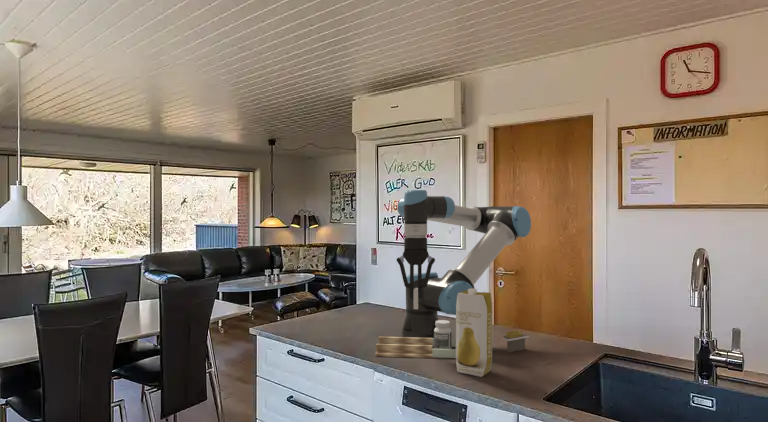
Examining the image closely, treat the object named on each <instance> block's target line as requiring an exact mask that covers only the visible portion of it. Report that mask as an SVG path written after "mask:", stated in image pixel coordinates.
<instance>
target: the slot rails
mask: <svg viewBox="0 0 768 422" xmlns="http://www.w3.org/2000/svg"><path fill="white" fill-rule="evenodd" d="M432 353H433V346H432V338H417V337H402V336H378V343H376V344H375V354H374V355H375V357H388V358H420V359H421V358H422V359H423V358H424V359H425V358H426V359H433V358H434V357H433V354H432Z"/></svg>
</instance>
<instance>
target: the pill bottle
mask: <svg viewBox="0 0 768 422" xmlns="http://www.w3.org/2000/svg"><path fill="white" fill-rule="evenodd" d="M450 324H451V322H450V321H449V320H447V319H446V320H444V319H439V320H438V321H436V322H435V325H436V328H435V329H434V346H433V349H453V348H452V339H453V337H452V329H451V328H450V326H451V325H450Z"/></svg>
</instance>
